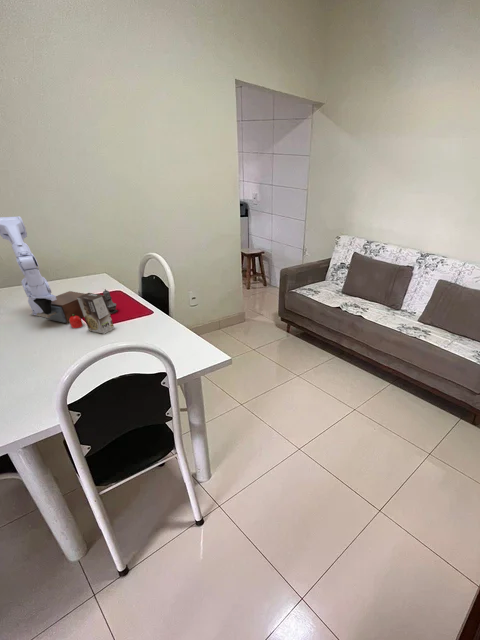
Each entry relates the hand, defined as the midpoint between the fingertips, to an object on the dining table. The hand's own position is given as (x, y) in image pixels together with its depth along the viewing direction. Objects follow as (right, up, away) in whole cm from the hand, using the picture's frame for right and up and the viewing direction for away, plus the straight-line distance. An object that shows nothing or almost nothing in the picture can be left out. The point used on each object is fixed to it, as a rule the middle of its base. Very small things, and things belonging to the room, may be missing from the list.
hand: (48, 313), depth 149 cm
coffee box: (+25, -8, 0) cm, 26 cm away
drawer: (+2, 0, +8) cm, 8 cm away
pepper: (+12, -6, +2) cm, 13 cm away
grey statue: (+19, +4, +17) cm, 26 cm away
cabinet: (+3, +1, +12) cm, 12 cm away
